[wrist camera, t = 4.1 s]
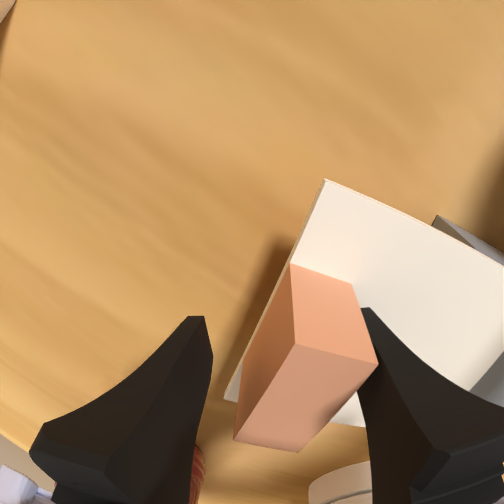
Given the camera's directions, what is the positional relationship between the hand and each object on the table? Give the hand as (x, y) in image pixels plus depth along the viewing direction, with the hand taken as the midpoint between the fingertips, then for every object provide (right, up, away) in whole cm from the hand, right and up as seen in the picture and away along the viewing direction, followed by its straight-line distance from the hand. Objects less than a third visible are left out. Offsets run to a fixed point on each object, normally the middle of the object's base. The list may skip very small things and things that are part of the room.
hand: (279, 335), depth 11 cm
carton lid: (+6, -1, +2) cm, 6 cm away
